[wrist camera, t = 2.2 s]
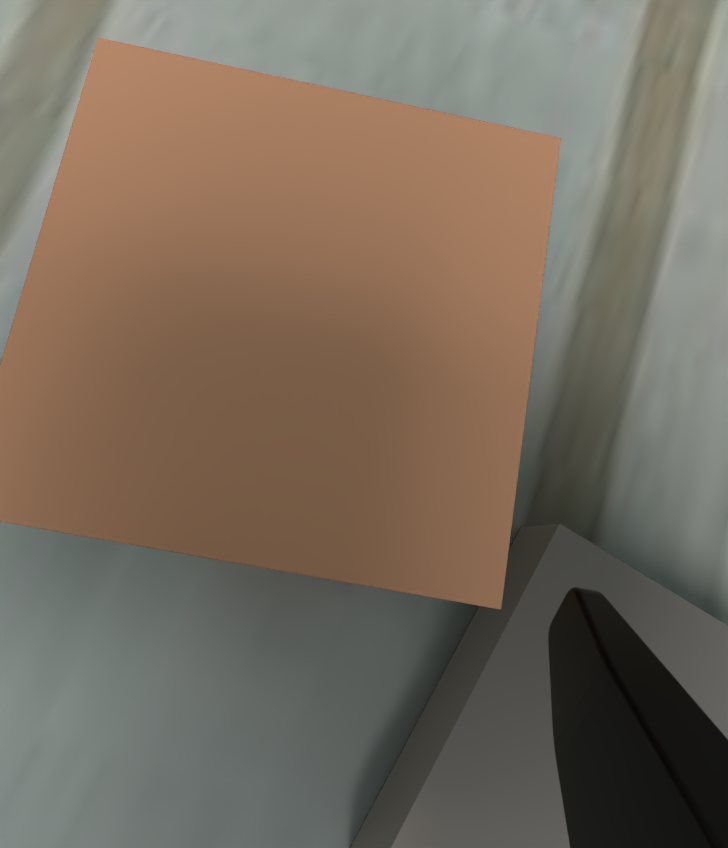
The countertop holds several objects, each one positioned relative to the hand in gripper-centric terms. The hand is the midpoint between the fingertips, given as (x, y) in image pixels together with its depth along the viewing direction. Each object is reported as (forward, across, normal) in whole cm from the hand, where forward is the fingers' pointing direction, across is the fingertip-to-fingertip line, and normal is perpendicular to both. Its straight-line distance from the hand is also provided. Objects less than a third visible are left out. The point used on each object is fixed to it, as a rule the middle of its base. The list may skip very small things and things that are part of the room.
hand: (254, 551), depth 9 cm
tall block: (+9, 0, +5) cm, 10 cm away
